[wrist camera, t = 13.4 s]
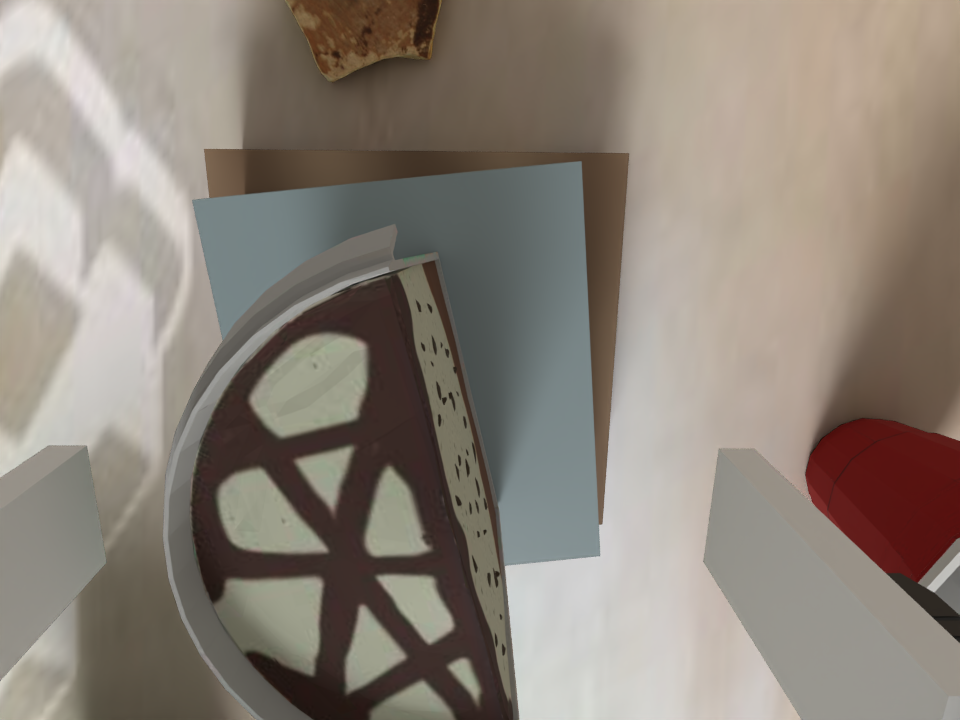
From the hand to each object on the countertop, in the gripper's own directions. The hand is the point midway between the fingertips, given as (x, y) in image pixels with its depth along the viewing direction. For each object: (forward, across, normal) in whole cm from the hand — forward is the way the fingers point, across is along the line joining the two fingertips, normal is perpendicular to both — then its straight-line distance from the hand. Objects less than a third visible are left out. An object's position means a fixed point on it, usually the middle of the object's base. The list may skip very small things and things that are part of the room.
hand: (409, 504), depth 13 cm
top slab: (+13, 0, 0) cm, 13 cm away
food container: (+8, +2, +1) cm, 9 cm away
